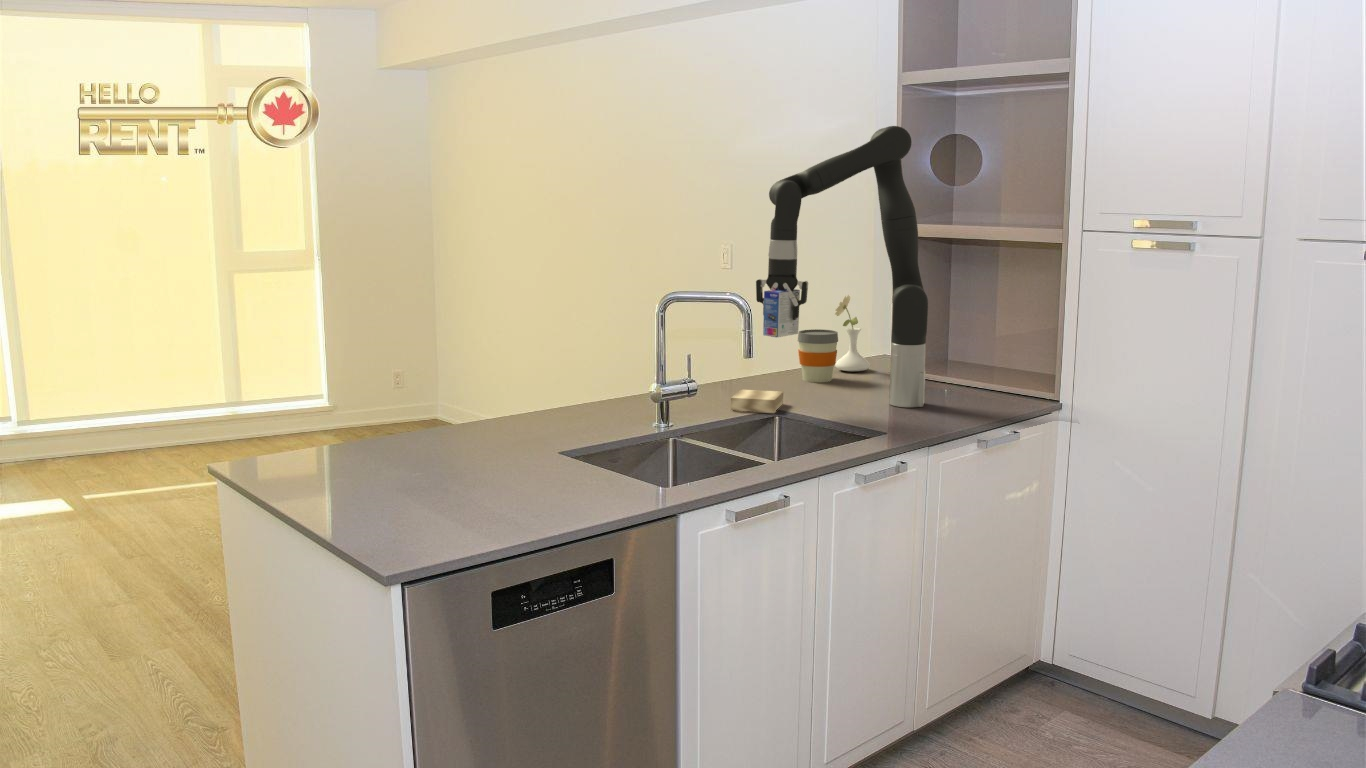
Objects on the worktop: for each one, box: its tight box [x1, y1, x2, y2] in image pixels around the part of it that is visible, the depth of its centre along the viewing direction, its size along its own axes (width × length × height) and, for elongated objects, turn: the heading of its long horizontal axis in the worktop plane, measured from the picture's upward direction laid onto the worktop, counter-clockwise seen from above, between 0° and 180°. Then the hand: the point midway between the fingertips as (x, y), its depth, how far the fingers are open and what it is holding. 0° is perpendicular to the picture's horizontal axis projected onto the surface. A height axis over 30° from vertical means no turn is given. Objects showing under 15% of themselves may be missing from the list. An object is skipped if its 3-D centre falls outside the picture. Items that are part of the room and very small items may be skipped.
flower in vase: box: [834, 294, 871, 372], centre depth 341 cm, size 13×11×25 cm
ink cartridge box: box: [762, 287, 801, 338], centre depth 281 cm, size 10×6×14 cm, turn 139°
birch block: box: [730, 389, 784, 414], centre depth 288 cm, size 12×12×4 cm
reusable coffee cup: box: [797, 328, 839, 383], centre depth 327 cm, size 13×13×15 cm
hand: (780, 318), depth 282 cm, fingers closed on ink cartridge box, 7 cm apart
